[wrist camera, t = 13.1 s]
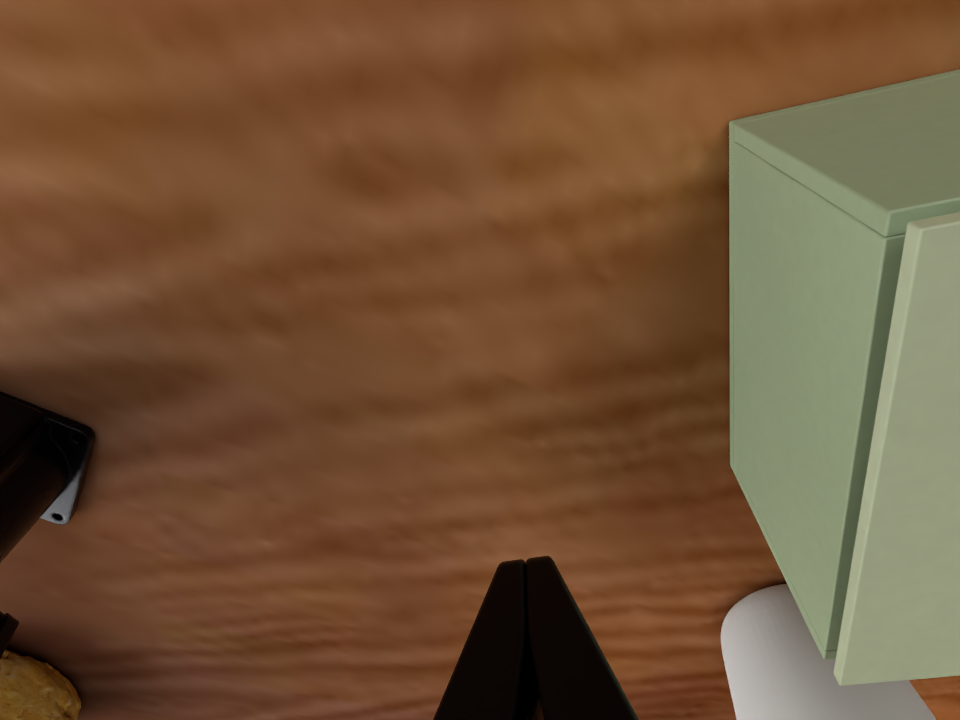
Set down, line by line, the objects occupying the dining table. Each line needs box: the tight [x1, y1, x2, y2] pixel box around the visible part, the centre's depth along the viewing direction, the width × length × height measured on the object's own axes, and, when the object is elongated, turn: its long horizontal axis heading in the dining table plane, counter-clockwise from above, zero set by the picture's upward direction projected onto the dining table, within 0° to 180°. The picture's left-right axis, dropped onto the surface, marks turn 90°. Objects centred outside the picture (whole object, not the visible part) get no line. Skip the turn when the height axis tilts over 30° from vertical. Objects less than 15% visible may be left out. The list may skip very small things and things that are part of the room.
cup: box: [721, 584, 936, 720], centre depth 27 cm, size 11×8×8 cm
